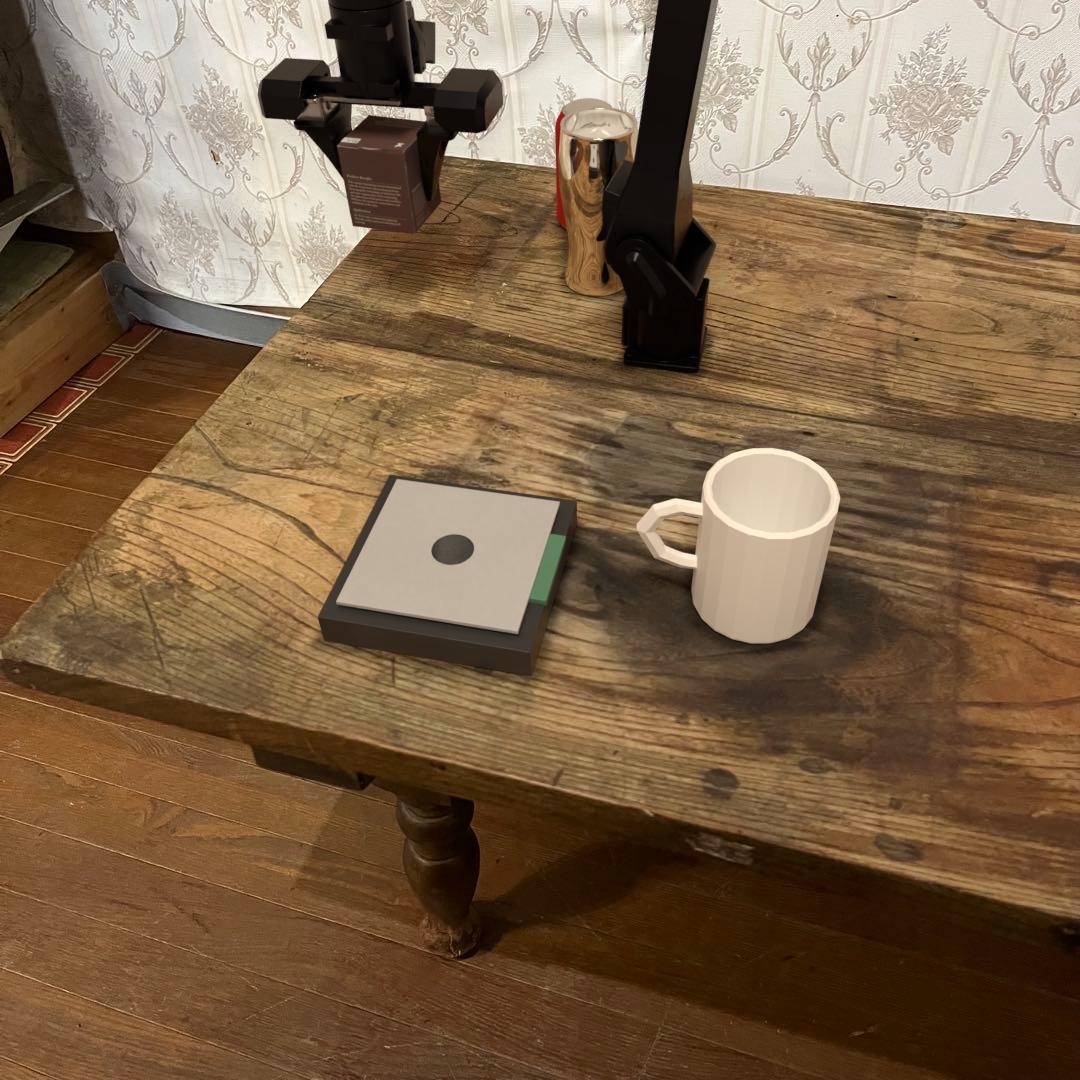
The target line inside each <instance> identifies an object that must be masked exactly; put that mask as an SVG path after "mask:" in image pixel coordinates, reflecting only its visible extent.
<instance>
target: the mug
mask: <svg viewBox="0 0 1080 1080" xmlns="http://www.w3.org/2000/svg"><path fill="white" fill-rule="evenodd" d="M840 501H841V495H840V491H839V487H838V485H837V483H836V481H835V480H834V478H832V476H831V475H830V474H829V472H828V471H827V470H826V469H825V468H823V467H822V466H820V464H817V462H815V461H814V460H812V459H810V458H808V457H806V456H804V455H801V454H799V453H797V452H794V451H791V450H786V449H780V448H776V447H775V448H774V447H753V448H752V447H751V448H748V449H743V450H740V451H735V452H732V453H730V454H728V455H726V456H725V457H723V458H720V459H719V460H717V461H716V462H715V463H713V465H712V466H711V468H710V469H708V471H706V475H705V478H704V481H703V484H702V489H701V499H700V502H699V501H694V500H687V499H682V498H676V497H675V498H671V499H668V500H665V501H661V502H657V503H653V504H652V505H651V506H650V508H649V509H648V510H647V511H646V513H644V515H643V516H642V517H641V519H639V521H638V522H637V523H636V524H635V526H636V531H637V533H638V535H639V536H640V537H641V540H642V541H643V542H644V544H645V546H646V547H647V549H648V551H649V552H650V554H651V555H652V557H653V558H654V559H656V560H659V561H661V562H664V563H667V564H669V565H671V566H674V567H677V568H678V569H679V568H680V569H688V570H692V571H693V572H692V579H691V581H692V582H691V588H690V589H691V596H692V597H691V598H692V604H693V606H694V608H695V610H696V611H697V613H698V615H699V617H700V619H701V620H702V621H703V622H704V623H706V624H707V625H708V626H709V627H710V628H711V629H712V630H713V631H715V632H717V633H718V634H720V635H722V636H724V637H727V638H728V639H730V640H734V641H737V642H738V641H739V642H740V643H741V642H742V643H746V644H752V645H753V644H754V645H755V644H756V645H759V644H761V645H762V644H766V645H767V644H774V643H777V642H781V641H785V640H788V639H790V638H792V637H794V636H795V635H796V634H798V633H799V632H801V631H803V630H804V629H805V627H806V626H807V625H808V624H809V622H810V621H811V620H812V618H813V616H814V612H815V608H816V604H817V600H818V596H819V591H820V587H821V583H822V579H823V575H824V570H825V565H826V562H827V558H828V553H829V549H830V546H831V542H832V541H831V540H832V537H833V532H834V529H835V525H836V520H837V516H838V512H839V507H840ZM681 516H687V517H692V518H693V517H694V518H698V525H697V526H698V527H697V535H696V544H695V553H694V554H692V553H687V552H682V551H680V550H677V549H675V548H672V547H670V546H668V545H666V544H665V543H664V540H662V538H661V536H660V535H659V533H658V532H657V530H656V529H658V527H660V525H661V524H662V523H663V522H664V520H668V519H671V518H672V519H673V518H676V517H681Z"/></svg>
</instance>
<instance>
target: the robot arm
mask: <svg viewBox="0 0 1080 1080" xmlns="http://www.w3.org/2000/svg"><path fill="white" fill-rule="evenodd" d="M327 3H328V9H329V15H330V19H329V20H327V22H325V23H324V29H325V34H326V35H325V36H326V39H327V40H334V45H335V46H334V47H335V52H336V57H337V63H338V68H339V76H332V73H331V68H330V66H329V65H328V63H327V62H325V60H324V59H309V58H295V57H294V58H292V57H290V58H289V57H284V58H283V59H282V60H281V61H280V62H279V63H278V64H276V66H275V67H274V68H272V69H271V70H270V71H269V72H268V73H267V74H266V75H265V76H264V77H263V78H262V79H261V80H260V82H259V84H258V87H257V88H258V89H257V98H258V99H257V100H258V103H259V107H260V112H261V116H262V117H263V118H265V119H268V120H269V119H271V120H282V121H283V120H284V121H293V127H294V129H295V130H297V131H301V132H304V133H305V134H306V135H307V136H308V137H309V138H310V139H311V141H312V142H314V144H315V145H316V147H318V149H319V150H320V151H321V152H322V153H323V155H324V156H325V157H326V158H327V159H328V161H329V162H330V163H331V164H332V166H333V168H334V169H335V170H336V172H337V173H338V174H339V176H340V177H341V179H342V180H343V181H344V179H343V174H342V169H341V164H340V158H339V154H338V149H337V145H338V144H339V143H340V142H341V141H342V140H343V138H345V137H346V136H347V135H348V134H349V133H350V132H351V131H352V130H353V127H352V111H353V110H352V109H353V105H357V106H369V107H370V106H371V107H372V106H373V107H386V108H387V107H388V108H401V109H414V110H415V109H416V110H417V109H418V110H423V111H424V112H423V113H424V116H425V118H426V119H425V120H424V121H425V123H424V124H423V125H422V127H421V128H420V129H419V130H418V132H417V133H416V136H417V144H418V152H419V159H420V167H421V174H422V182H423V188H424V192H425V195H426V199H427V201H432V200H433V199H434V197H435V194H436V190H437V186H438V182H439V183H440V178H441V177H440V176H441V172H442V168H443V164H444V160H445V156H446V152H447V148H448V144H449V142H450V141H453V140H455V139H456V137H457V136H458V134H459V133H467V134H480V133H483V132H486V131H487V130H488V129H489V127H490V126H491V124H492V122H493V121H494V119H495V118H496V116H497V115H498V114H499V112H500V110H501V108H502V107H503V106H504V91H503V90H504V89H503V82H502V80H501V78H500V77H499V76H498V75H497V73H496V72H495V70H494V69H481V68H480V69H479V68H463V67H451V69H450V70H449V72H447V74H446V75H445V76H444V77H443V79H442V80H441V82H426V81H416V75H422V74H423V73H424V72H425V71H426V70H427V64H431V65H435V64H436V21H427V20H417V19H416V17H415V10H414V7H413V3H412V0H327ZM718 4H719V0H657V6H656V13H655V20H654V26H653V33H652V40H651V46H650V52H649V59H648V66H647V73H646V78H645V85H644V92H643V98H642V105H641V112H640V119H639V123H638V138H637V144H636V151H635V157H634V163H633V162H630V161H628V160H625V159H623V161H622V162H621V164H620V166H619V167H618V169H617V171H616V173H615V174H614V176H613V178H612V179H611V181H610V183H609V184H608V186H607V188H606V189H605V191H604V195H603V225H602V228H601V231H600V232H599V234H598V236H597V238H596V240H597V241H598V242H600V241H603V240H605V242H604V247H603V249H604V258H605V261H606V264H607V265H609V266H610V267H611V268H612V269H613V271H614V272H615V273H616V274H617V275H619V277H620V280H621V282H622V285H623V290H624V294H625V296H624V299H623V302H622V306H621V332H620V333H621V335H620V344H621V346H623V347H625V349H624V353H623V356H622V362H623V364H624V365H628V366H636V367H645V368H654V369H663V370H671V371H681V372H689V373H696V372H699V371H700V368H701V363H702V358H703V353H704V349H705V344H706V341H707V335H708V327H707V326H706V322H707V314H708V313H707V312H708V302H709V293H710V281H711V280H710V278H708V277H705V276H706V273H707V271H708V269H709V265H710V263H711V261H712V258H713V256H714V253H715V251H716V248H717V242H716V241H715V240H714V239H713V238H712V237H711V235H710V233H708V232H707V230H705V229H704V227H703V226H701V224H700V223H699V222H698V221H697V220H696V218H695V217H694V216H693V204H694V203H693V201H694V199H693V198H694V197H693V196H694V193H693V191H694V183H693V176H692V170H691V164H690V150H691V145H692V140H693V134H694V130H695V124H696V119H697V114H698V110H699V109H698V108H699V104H700V98H701V93H702V88H703V83H704V77H705V72H706V68H707V61H708V57H709V52H710V47H711V41H712V37H713V31H714V25H715V20H716V15H717V10H718Z"/></svg>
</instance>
